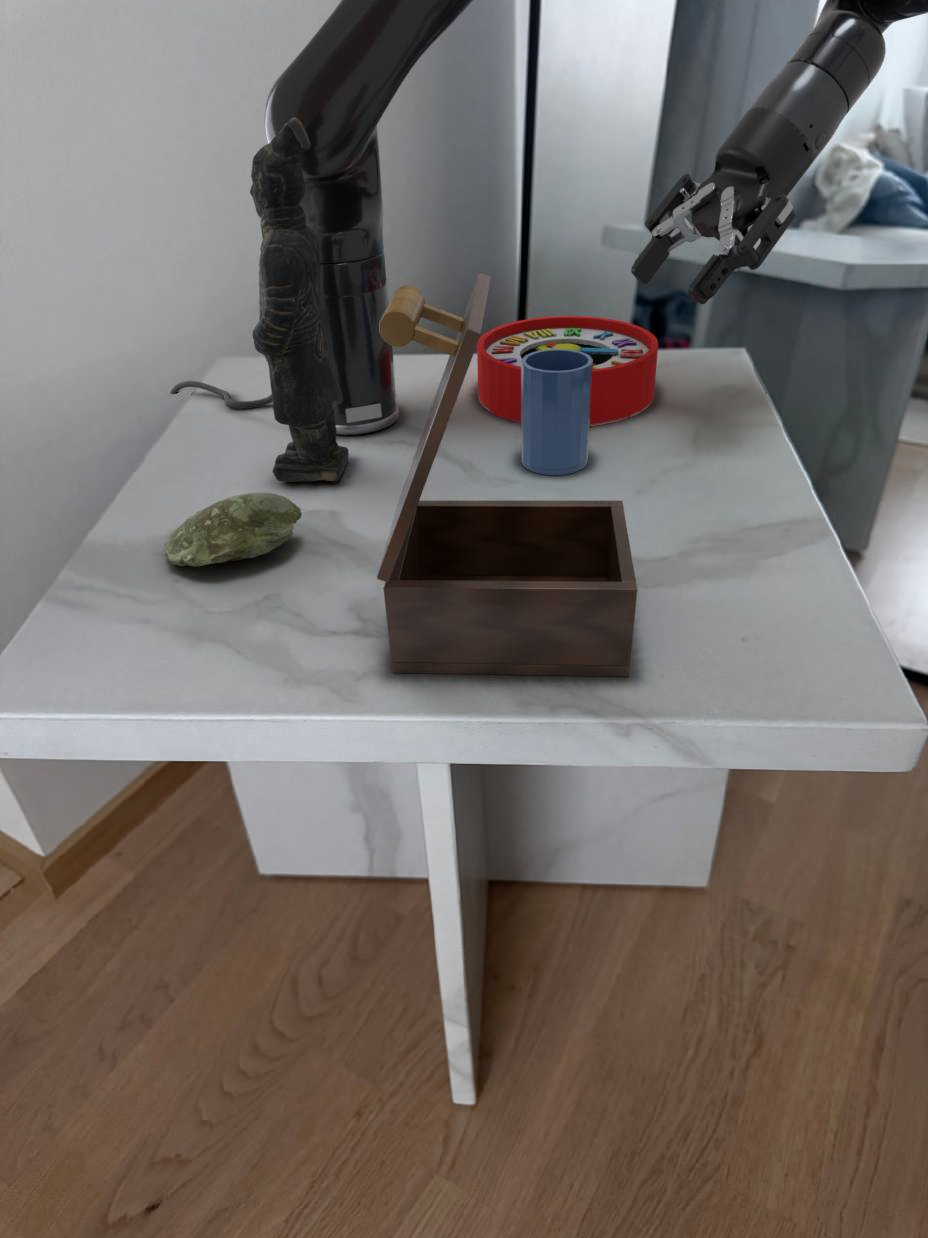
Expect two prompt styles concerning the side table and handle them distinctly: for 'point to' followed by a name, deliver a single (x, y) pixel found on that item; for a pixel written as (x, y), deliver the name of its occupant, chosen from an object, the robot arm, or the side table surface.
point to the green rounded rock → (233, 530)
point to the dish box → (513, 589)
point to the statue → (294, 314)
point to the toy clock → (611, 344)
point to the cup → (555, 410)
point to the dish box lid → (399, 331)
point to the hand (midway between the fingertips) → (665, 287)
